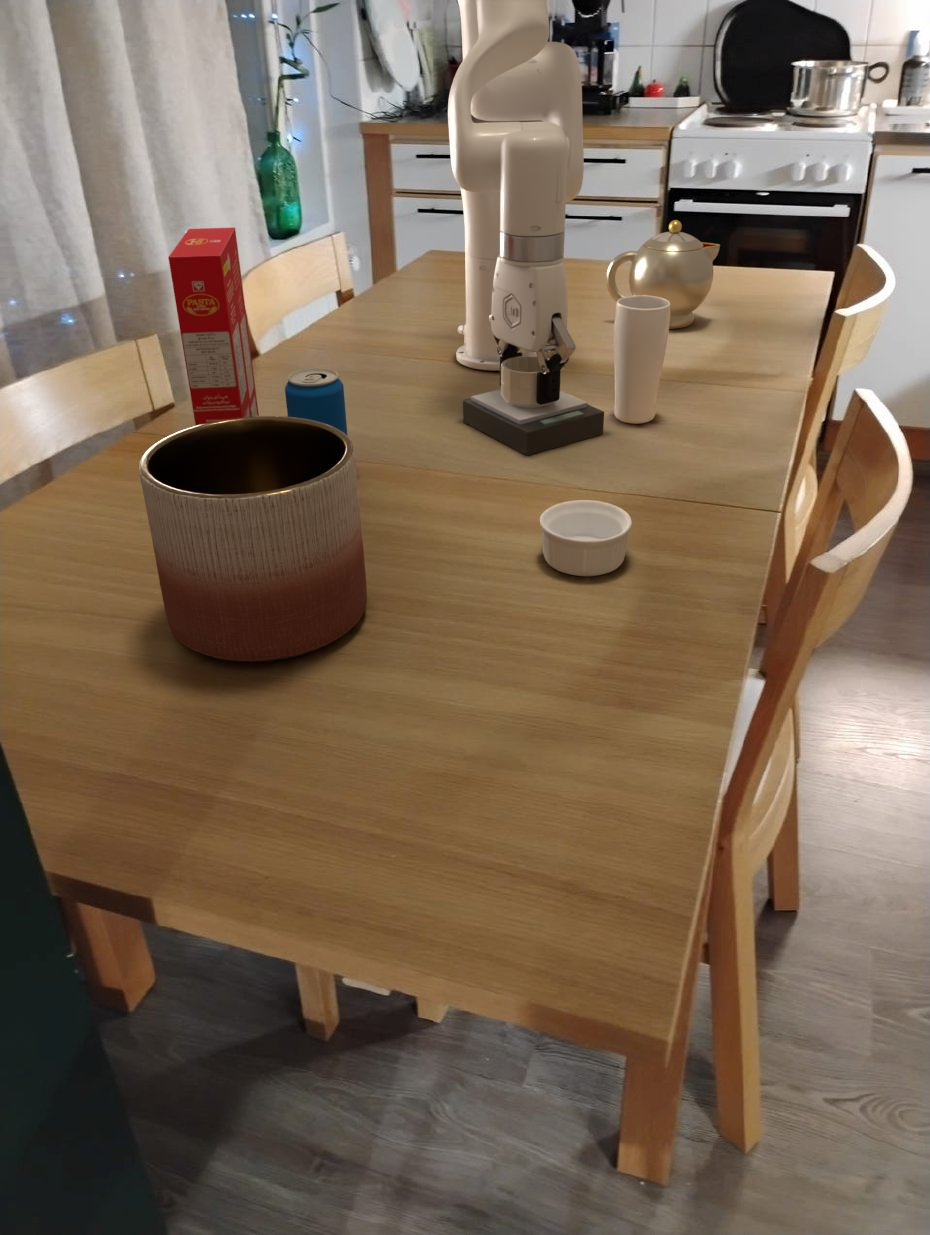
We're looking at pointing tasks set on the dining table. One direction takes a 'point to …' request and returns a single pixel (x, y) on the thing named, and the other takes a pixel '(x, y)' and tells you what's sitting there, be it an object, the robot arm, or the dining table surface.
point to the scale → (533, 421)
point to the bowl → (520, 381)
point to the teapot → (669, 272)
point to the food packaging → (213, 324)
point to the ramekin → (585, 537)
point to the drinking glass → (639, 355)
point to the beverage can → (317, 397)
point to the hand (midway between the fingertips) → (529, 392)
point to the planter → (256, 536)
